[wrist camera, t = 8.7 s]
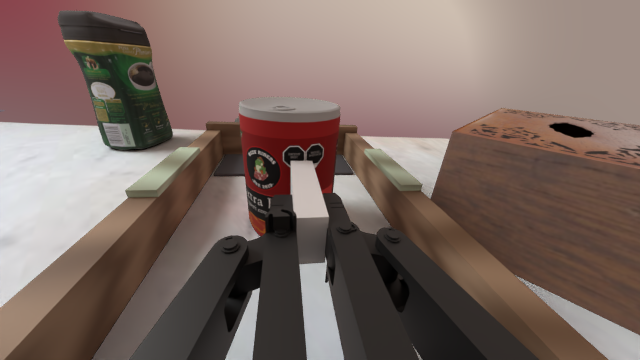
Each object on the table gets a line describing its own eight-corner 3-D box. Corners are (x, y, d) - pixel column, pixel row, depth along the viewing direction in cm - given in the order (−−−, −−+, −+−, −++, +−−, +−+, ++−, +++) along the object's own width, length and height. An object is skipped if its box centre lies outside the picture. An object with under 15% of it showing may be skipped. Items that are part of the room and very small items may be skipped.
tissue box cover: (656, 347, 14) (834, 208, 9) (420, 231, 22) (452, 131, 18) (598, 199, 31) (650, 126, 26) (477, 167, 39) (501, 108, 35)
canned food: (231, 226, 21) (213, 101, 16) (284, 191, 27) (282, 94, 22) (302, 260, 18) (306, 117, 13) (342, 211, 24) (355, 104, 19)
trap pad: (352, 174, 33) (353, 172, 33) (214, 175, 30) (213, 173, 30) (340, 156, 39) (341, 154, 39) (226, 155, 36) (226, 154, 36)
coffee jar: (142, 133, 44) (108, 19, 36) (181, 137, 44) (155, 21, 35) (93, 149, 35) (33, 3, 27) (140, 154, 35) (94, 6, 27)
